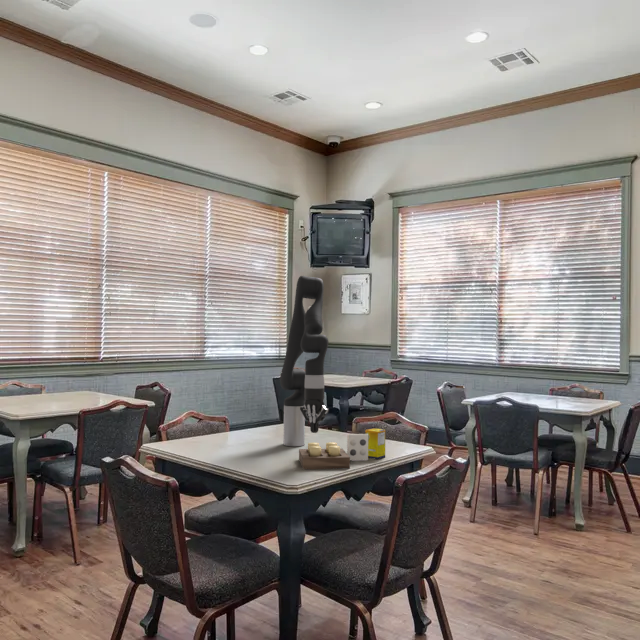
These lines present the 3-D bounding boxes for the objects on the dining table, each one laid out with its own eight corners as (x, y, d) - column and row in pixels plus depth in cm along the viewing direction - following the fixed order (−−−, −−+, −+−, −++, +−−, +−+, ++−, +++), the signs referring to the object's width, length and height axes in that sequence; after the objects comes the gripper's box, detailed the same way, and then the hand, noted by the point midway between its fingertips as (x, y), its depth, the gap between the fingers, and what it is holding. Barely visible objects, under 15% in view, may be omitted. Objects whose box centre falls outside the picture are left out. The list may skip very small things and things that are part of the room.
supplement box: (373, 455, 244) (373, 427, 244) (385, 457, 240) (385, 429, 240) (364, 457, 239) (364, 429, 239) (377, 459, 235) (377, 431, 236)
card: (347, 460, 233) (347, 434, 234) (367, 459, 234) (367, 433, 235) (347, 460, 233) (347, 434, 233) (368, 460, 234) (368, 434, 234)
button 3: (325, 450, 232) (325, 442, 232) (336, 450, 233) (336, 442, 233) (326, 452, 228) (326, 444, 228) (337, 452, 229) (337, 444, 229)
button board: (299, 459, 234) (299, 449, 234) (342, 458, 236) (342, 448, 236) (303, 469, 217) (303, 458, 217) (349, 468, 219) (349, 457, 219)
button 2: (309, 454, 224) (309, 445, 225) (320, 454, 225) (320, 445, 225) (310, 456, 220) (310, 448, 220) (321, 456, 221) (321, 447, 221)
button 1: (307, 450, 231) (307, 442, 231) (318, 450, 232) (318, 442, 232) (308, 453, 227) (308, 444, 227) (319, 452, 228) (319, 444, 228)
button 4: (327, 454, 225) (327, 445, 225) (339, 454, 226) (339, 445, 226) (329, 456, 221) (329, 447, 221) (340, 456, 222) (340, 447, 222)
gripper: (334, 387, 229) (334, 433, 229) (307, 385, 237) (306, 429, 237) (322, 388, 223) (322, 435, 223) (294, 386, 231) (294, 432, 231)
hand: (314, 432), depth 230 cm, fingers closed
